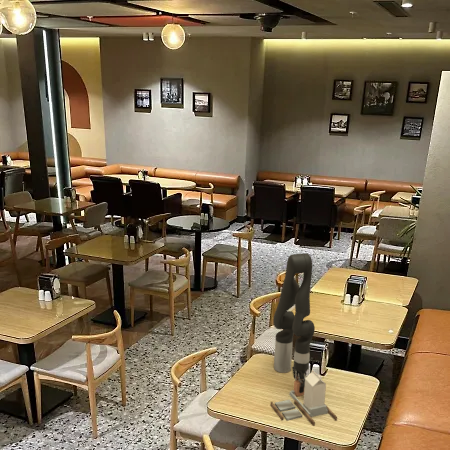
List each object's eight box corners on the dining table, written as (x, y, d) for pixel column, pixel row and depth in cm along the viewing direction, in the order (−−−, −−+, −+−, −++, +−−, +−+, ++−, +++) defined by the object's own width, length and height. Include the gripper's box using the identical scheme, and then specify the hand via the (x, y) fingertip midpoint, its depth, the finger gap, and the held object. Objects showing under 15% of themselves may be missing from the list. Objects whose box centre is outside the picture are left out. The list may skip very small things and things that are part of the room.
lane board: (270, 405, 230) (270, 402, 229) (314, 395, 238) (314, 392, 238) (290, 431, 212) (290, 427, 211) (336, 420, 220) (337, 416, 219)
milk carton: (310, 415, 223) (313, 378, 218) (303, 406, 229) (305, 370, 225) (323, 412, 225) (326, 376, 221) (316, 403, 232) (318, 368, 227)
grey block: (288, 394, 239) (289, 381, 237) (306, 390, 242) (307, 378, 241) (308, 417, 221) (309, 404, 220) (327, 413, 225) (328, 400, 223)
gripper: (288, 353, 240) (286, 384, 244) (301, 367, 227) (299, 399, 231) (301, 351, 242) (299, 381, 247) (315, 364, 230) (313, 396, 234)
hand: (299, 390), depth 239 cm, fingers closed on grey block, 3 cm apart
